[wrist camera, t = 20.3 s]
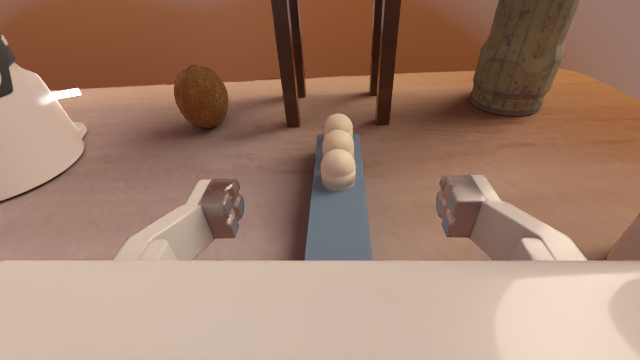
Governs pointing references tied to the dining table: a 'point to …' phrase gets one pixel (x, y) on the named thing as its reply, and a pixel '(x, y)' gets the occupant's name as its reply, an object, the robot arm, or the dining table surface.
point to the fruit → (201, 96)
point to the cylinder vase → (627, 244)
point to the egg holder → (338, 197)
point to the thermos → (521, 55)
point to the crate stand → (292, 61)
